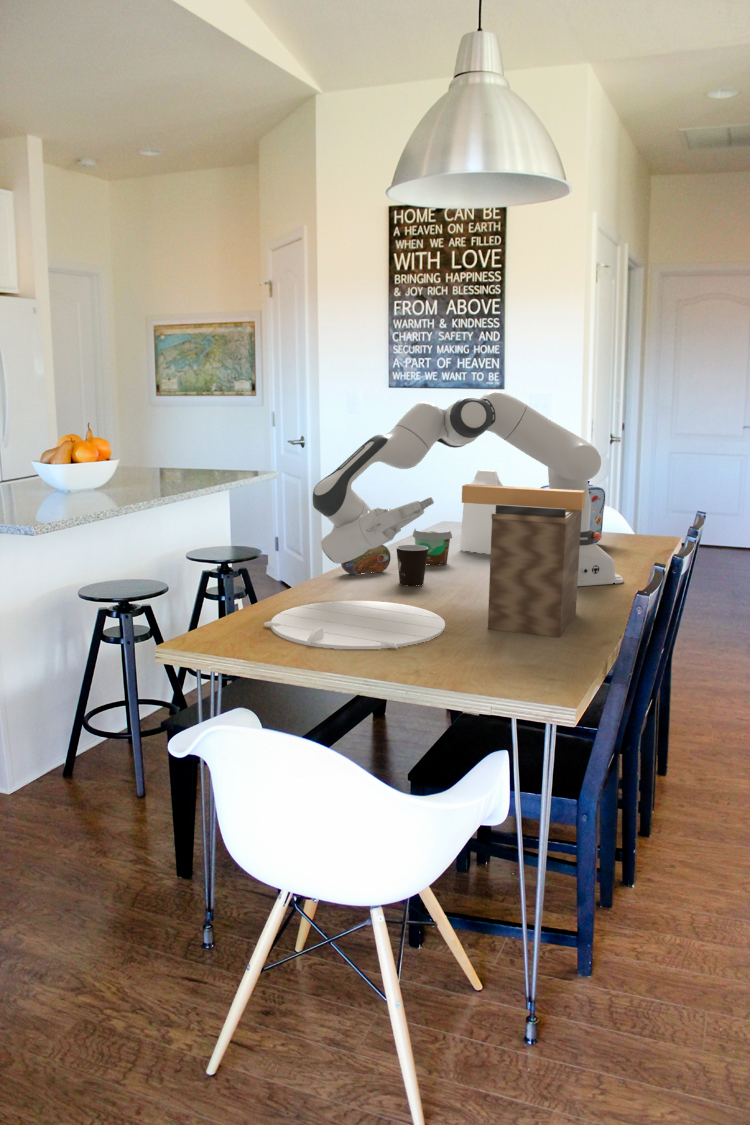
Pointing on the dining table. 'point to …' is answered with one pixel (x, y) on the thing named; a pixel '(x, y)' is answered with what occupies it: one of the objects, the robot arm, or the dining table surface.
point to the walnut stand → (533, 569)
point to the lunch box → (595, 507)
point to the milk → (478, 518)
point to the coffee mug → (411, 564)
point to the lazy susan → (357, 625)
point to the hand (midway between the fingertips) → (426, 502)
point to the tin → (369, 561)
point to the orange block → (523, 496)
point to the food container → (434, 545)
